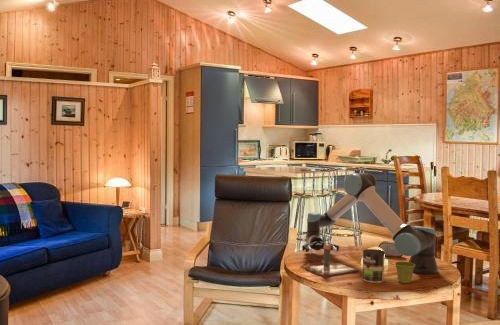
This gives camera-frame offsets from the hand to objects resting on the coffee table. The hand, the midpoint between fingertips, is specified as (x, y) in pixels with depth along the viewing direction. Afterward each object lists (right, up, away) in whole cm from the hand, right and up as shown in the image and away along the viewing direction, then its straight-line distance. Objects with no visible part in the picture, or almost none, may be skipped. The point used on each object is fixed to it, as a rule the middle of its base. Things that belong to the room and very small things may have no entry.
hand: (323, 251), depth 263 cm
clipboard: (+3, -9, -6) cm, 11 cm away
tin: (+44, -8, +27) cm, 52 cm away
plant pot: (+36, -11, -23) cm, 44 cm away
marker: (0, -8, -9) cm, 12 cm away
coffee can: (+21, -10, -21) cm, 32 cm away
